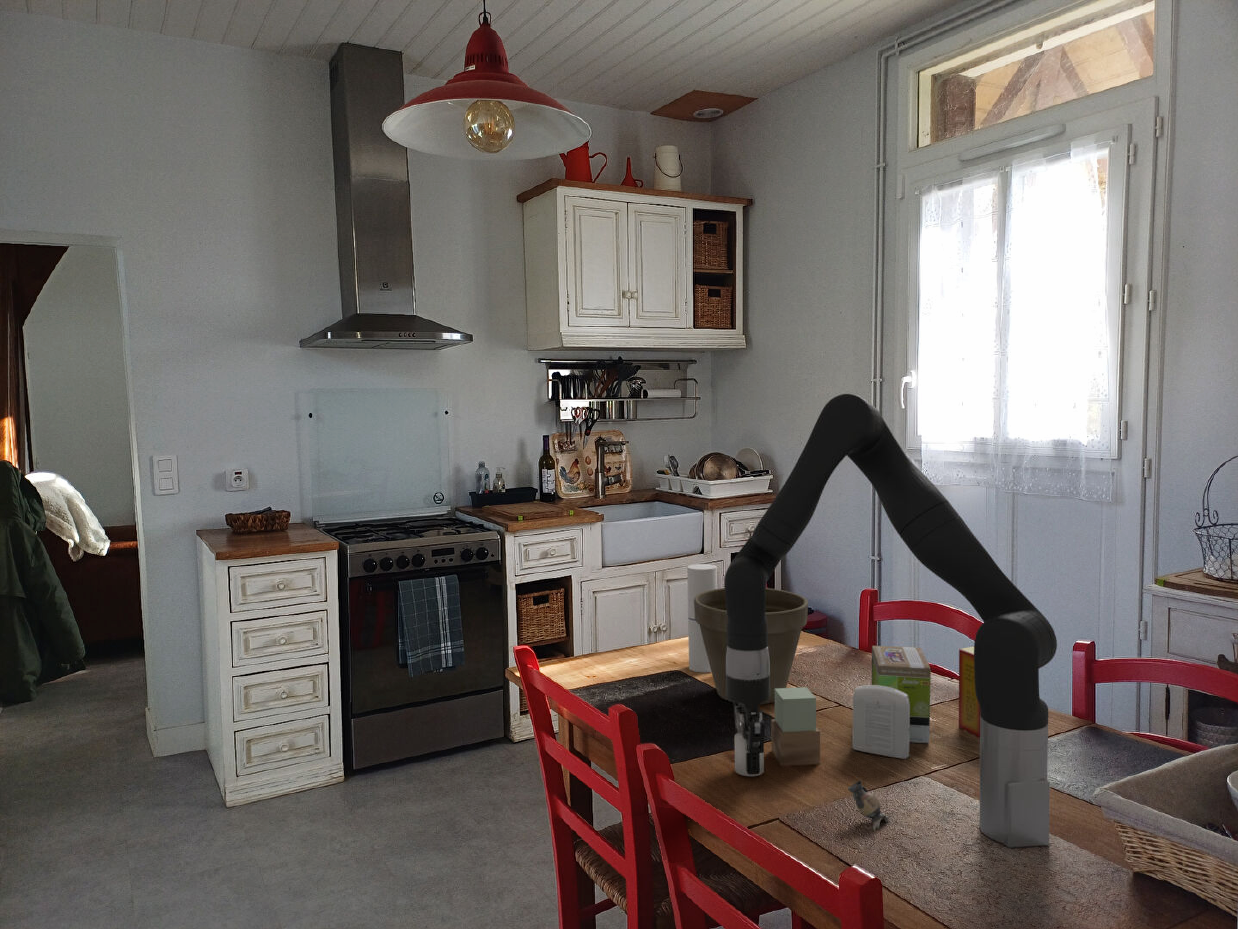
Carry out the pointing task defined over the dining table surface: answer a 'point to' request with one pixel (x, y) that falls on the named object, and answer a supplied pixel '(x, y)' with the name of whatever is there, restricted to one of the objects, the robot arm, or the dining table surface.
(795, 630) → the plant pot
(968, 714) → the baking soda box
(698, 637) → the cylindrical container
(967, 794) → the dining table surface
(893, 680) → the tea box
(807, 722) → the tower top
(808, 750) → the tower base
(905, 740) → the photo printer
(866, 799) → the animal figurine
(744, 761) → the white cylinder peg
